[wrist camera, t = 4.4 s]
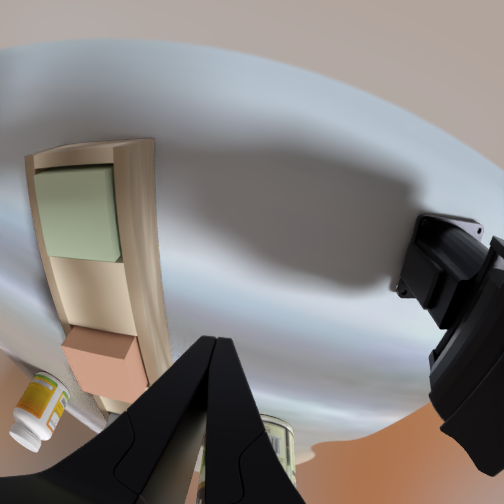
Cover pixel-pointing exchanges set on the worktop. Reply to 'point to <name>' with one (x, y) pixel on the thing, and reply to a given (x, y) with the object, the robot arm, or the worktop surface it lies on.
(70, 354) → the terracotta key
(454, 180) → the worktop surface
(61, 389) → the supplement bottle
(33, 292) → the worktop surface
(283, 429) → the coffee can
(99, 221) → the sage key
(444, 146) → the worktop surface
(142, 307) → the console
